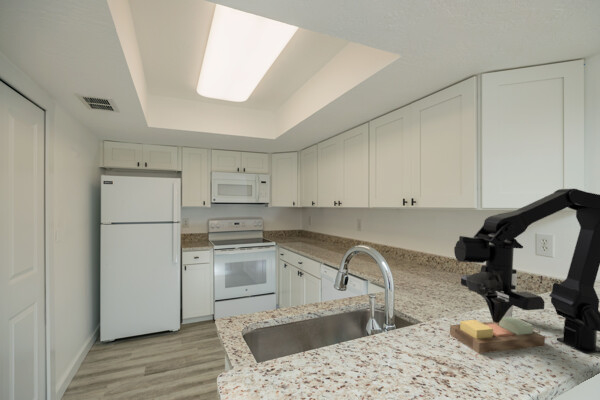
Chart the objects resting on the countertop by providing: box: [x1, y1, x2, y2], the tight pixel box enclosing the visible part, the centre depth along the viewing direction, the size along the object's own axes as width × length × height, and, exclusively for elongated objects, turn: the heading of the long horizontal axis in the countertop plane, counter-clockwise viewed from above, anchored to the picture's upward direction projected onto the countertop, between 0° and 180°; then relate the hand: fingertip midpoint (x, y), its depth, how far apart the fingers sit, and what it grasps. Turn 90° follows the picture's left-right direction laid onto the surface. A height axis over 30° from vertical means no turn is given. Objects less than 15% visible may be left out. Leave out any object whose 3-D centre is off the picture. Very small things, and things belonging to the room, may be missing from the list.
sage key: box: [499, 316, 534, 335], centre depth 72 cm, size 5×5×3 cm
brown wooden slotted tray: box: [449, 321, 546, 354], centre depth 70 cm, size 21×9×2 cm, turn 103°
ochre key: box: [460, 319, 493, 339], centre depth 69 cm, size 5×5×3 cm
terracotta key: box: [487, 324, 513, 337], centre depth 70 cm, size 5×5×3 cm
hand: (496, 322), depth 70 cm, fingers closed
